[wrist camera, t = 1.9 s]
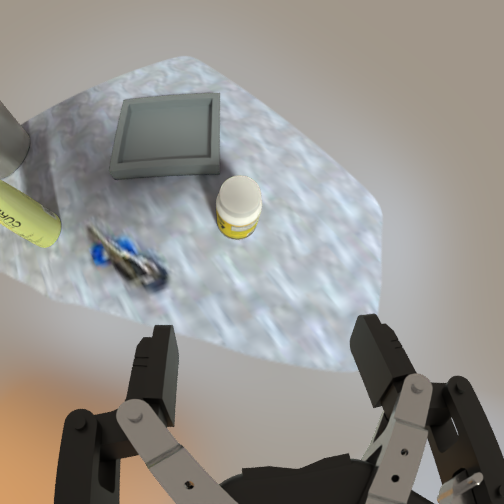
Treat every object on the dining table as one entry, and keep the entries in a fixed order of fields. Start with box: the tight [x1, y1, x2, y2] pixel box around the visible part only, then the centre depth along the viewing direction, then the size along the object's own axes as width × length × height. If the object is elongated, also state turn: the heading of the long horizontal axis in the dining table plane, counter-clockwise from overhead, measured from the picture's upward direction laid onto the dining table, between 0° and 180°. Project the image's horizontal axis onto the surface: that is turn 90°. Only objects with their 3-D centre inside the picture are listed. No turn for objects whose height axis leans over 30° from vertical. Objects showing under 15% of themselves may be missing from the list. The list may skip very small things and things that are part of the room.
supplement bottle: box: [216, 176, 262, 240], centre depth 32 cm, size 5×5×8 cm
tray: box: [109, 93, 220, 180], centre depth 37 cm, size 14×12×2 cm
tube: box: [0, 180, 61, 248], centre depth 24 cm, size 6×5×20 cm
